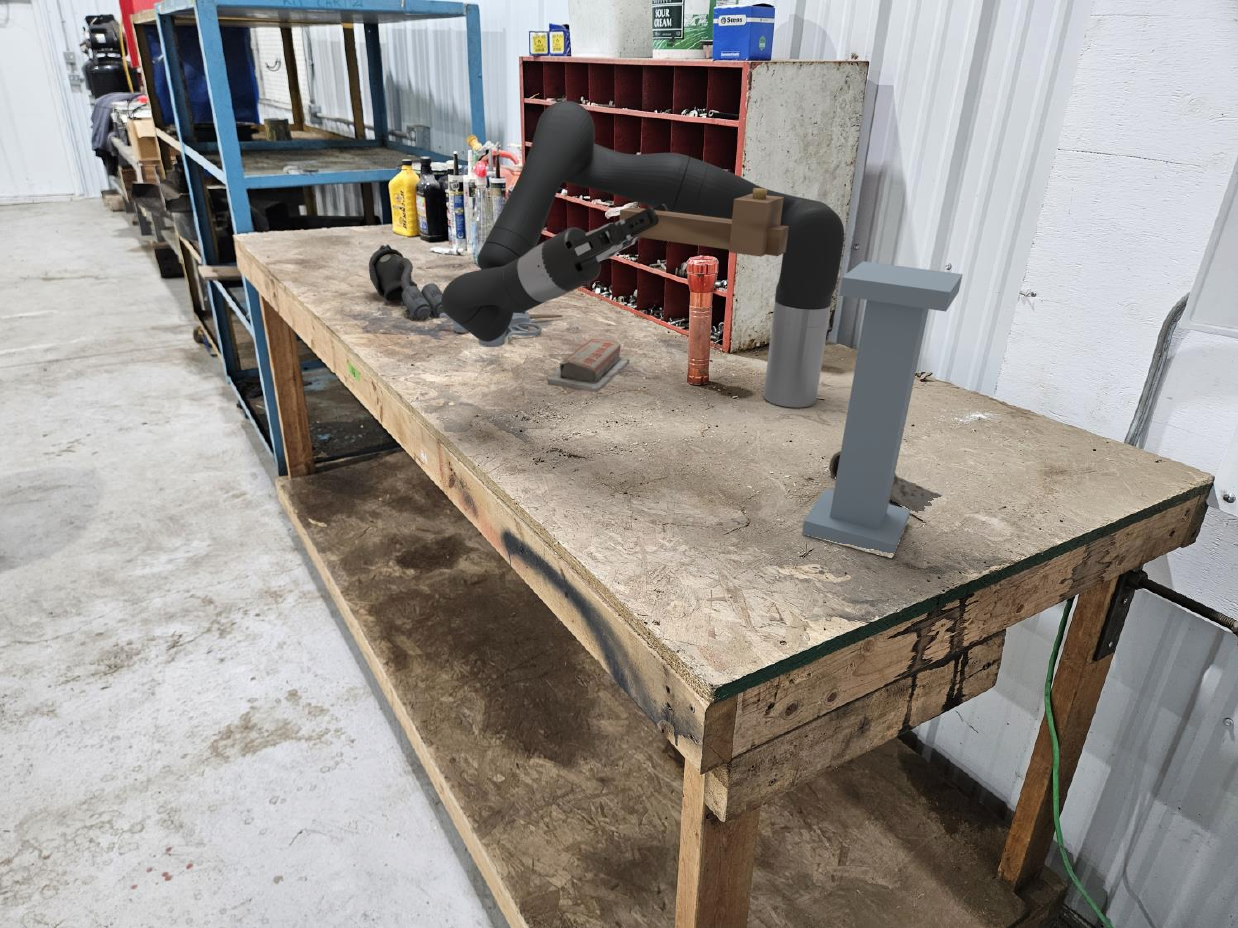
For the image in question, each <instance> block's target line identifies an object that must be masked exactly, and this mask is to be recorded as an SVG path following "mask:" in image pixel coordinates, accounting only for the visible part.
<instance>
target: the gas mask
mask: <svg viewBox="0 0 1238 928" xmlns="http://www.w3.org/2000/svg"><path fill="white" fill-rule="evenodd" d="M413 269H414V266H413V263H412V262H411V260H410V259H408V258H407V257H404V255H403V253H401V251H399V250H397V249H395V248H392V247H391V246H390V245H389V244H386V245H384V244H381V245H380V247H379V248H378V249H377V250H376V251H375V252H374V253H373V254H372V255H371V256H370V258H369V261H368V270H369V271H368V272H369V278H370V281H371V283H372V285H373V286H374V288H375V290H376V292H377V293H378V295H379V296H381V297H383V299H385V300H387V301H388V302H398V301H399V300H400V301H401V302H400V301H399V302H400V306H401V307H405V313H406V314H408V315H409V314H410V318H409V319H410V321H418V319H425V320H426V319H429V318H437V316H440V313H445V312H444V310H443V308H442V304H441V298H442V294H443V291H442V290H441V289H440V287H439V285H438V284H436V283H434V282H431V283H426V284H424V285H423V287H422V289H421V290H420V289H419V287H418V284H417V283H416V282H415V281H413V278H412V277H413V276H412V273H413ZM445 314H446V313H445Z"/></svg>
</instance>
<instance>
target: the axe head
mask: <svg viewBox="0 0 1238 928" xmlns="http://www.w3.org/2000/svg"><path fill="white" fill-rule="evenodd" d="M840 453H841V450H840V451H837V452H836V453H834V454H833V455H832V457H831V459H830V462H829V467H828V470H829V473H830V476H831V478H832V477H834V478H835V477H837V471H838V465H839V459H840ZM834 478H833V479H834ZM941 496H943V495H942V494H940V493H938V492H933V491H931V490H929V489H927V488H924V487H922V486H920V485H918V484H915V483H914V482H910V481H908V480H906V479H905V478H902V477H899V476H898V475H897V473H895V476H894V480H893V485H892V490H891V495H890V500H889V501H891V500H892V501H891V502H893V501H894V502H896V503H898V504H899V505H902V506H905V507H906V508H908V509H910V510H912V511H915V512H917V513H918V511H924V509H925V507H924V506H932V504H931V503H930V502H928V501H932V500H934V499H933V498H938V497H941ZM894 502H893V503H894ZM896 503H895V504H896ZM898 504H897V505H898ZM899 505H898V506H899Z"/></svg>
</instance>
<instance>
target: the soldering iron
mask: <svg viewBox="0 0 1238 928" xmlns="http://www.w3.org/2000/svg"><path fill="white" fill-rule="evenodd" d="M563 316H564V315H562V314H546V313H545V314H544V313H543V314H540V313H539V314H538V313H537V314H536V313H534V314H533V313H529V312H528V310H527V311H525V312H522V313H513V317H512V320H511V322H510V325H509V327H508V328H507V330H506V331H505V332H504V334H503V335H502V336H500V337H499V338H497V339H496V340H493V341H490V342H485V341H481V340H480V339H478V341H479V344H480V345H482V346H484V347H492V348H494V347H495V348H497V347H501V346H502V345H504V344H505V340H506V337H507V339H508V340H510V341H514V338H512V336H525V337H526V336H527V337H530V336H537V335H539V334H541V332H542V326H540V325H539V324H537V323H534V322H530V321H531V320H534V319H535V320H537V319H552V318H553V319H555V318H563ZM439 318H440V319H448V320H452V319H451V318H450V317H449V316H448V315H447V314H445V313H440V315H439ZM452 321H453V323H452V324H453V330H454V331H455V332H456V333H460V334H468V333H469V334H470V332H469V331H467V330H466V329H464V328H463V327H462V326H460V325H459V324H458V323H456V322H455V321H454V320H452ZM530 327H531V328H534V329H536V330H532V331H531V330H530V329H529V328H530Z"/></svg>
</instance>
